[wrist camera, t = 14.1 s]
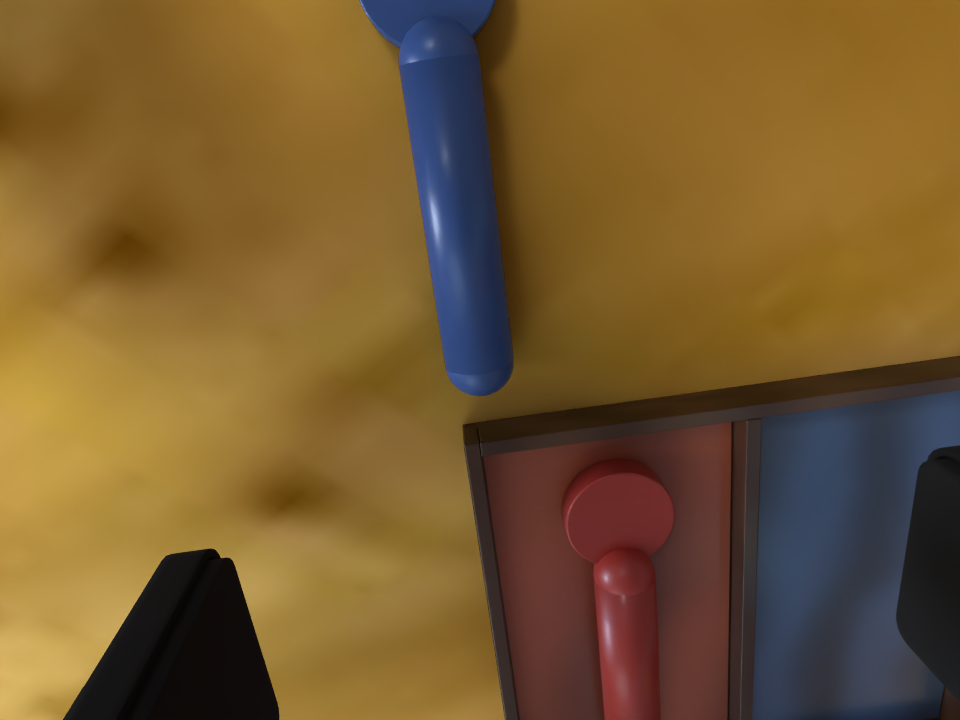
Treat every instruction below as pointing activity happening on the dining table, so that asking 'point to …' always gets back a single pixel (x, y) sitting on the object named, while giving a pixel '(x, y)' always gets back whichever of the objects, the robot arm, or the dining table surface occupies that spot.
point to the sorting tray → (725, 546)
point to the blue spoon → (454, 180)
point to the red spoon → (622, 576)
